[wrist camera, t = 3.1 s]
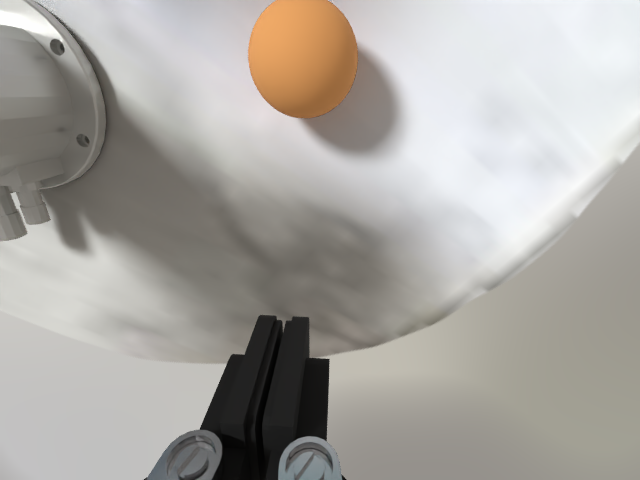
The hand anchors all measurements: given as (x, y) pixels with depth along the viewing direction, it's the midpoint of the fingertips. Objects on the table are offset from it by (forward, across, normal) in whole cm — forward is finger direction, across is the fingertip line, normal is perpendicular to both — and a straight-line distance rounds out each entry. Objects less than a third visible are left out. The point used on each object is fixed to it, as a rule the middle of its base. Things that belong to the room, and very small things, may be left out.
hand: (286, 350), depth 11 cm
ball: (+12, 0, -10) cm, 15 cm away
